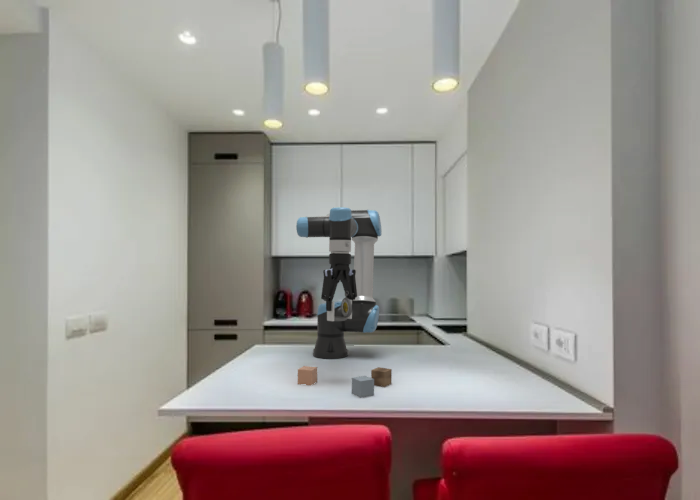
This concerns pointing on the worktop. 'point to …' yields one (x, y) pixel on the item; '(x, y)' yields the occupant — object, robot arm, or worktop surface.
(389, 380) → the walnut cube
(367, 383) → the slate cube
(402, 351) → the worktop surface
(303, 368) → the terracotta cube
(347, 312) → the pocket watch
